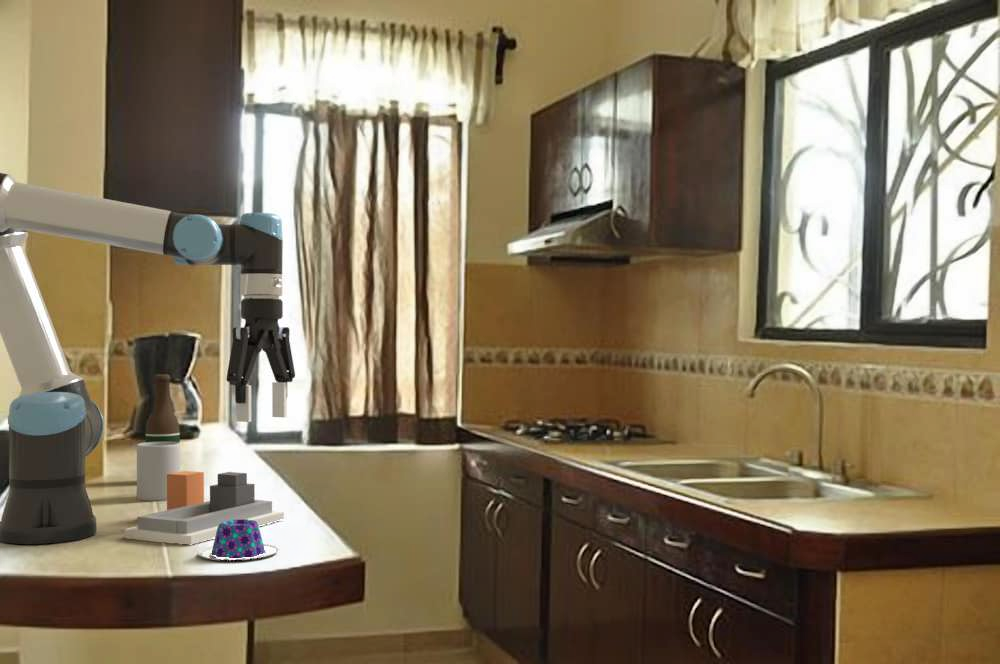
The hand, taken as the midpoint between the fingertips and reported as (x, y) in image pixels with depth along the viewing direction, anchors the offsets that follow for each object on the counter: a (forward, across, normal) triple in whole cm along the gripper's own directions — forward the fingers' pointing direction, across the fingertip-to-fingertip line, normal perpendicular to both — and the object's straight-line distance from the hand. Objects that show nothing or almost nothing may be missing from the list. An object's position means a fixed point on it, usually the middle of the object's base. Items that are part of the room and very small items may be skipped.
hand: (262, 419), depth 199 cm
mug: (+18, +9, +33) cm, 38 cm away
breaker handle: (+16, -9, 0) cm, 18 cm away
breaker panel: (+18, -15, 0) cm, 23 cm away
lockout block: (+18, -7, +12) cm, 23 cm away
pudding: (+18, -29, -18) cm, 39 cm away
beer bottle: (+18, +25, +47) cm, 56 cm away
